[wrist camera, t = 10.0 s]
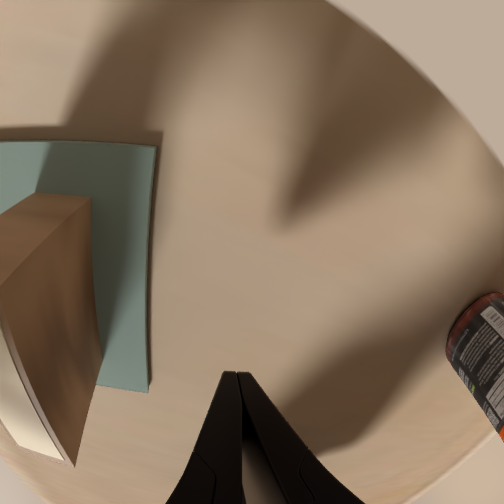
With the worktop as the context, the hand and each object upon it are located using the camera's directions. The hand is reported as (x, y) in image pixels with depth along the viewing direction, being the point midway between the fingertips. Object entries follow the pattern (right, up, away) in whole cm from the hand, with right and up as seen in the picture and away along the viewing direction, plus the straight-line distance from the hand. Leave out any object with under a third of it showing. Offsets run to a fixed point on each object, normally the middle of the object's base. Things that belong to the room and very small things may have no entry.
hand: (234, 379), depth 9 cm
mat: (-10, +3, +2) cm, 10 cm away
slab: (-7, +3, +2) cm, 8 cm away
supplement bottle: (+16, -1, +8) cm, 17 cm away
